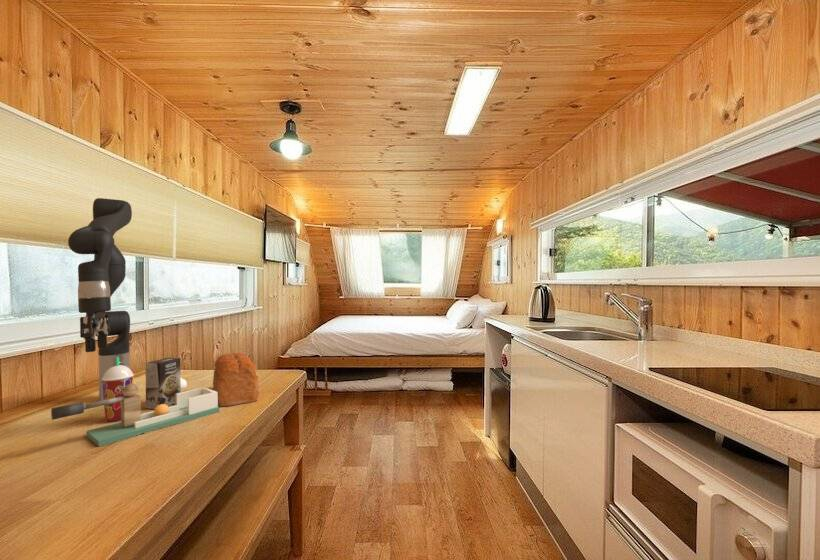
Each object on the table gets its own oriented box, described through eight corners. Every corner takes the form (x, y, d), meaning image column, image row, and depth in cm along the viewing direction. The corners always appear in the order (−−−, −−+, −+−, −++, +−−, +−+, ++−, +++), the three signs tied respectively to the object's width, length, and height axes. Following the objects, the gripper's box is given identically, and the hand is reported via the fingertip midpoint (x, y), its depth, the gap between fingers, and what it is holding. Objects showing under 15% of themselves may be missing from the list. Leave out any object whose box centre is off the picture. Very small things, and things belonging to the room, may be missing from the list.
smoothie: (141, 415, 123) (140, 355, 123) (113, 424, 115) (112, 360, 115) (123, 412, 125) (122, 353, 125) (95, 421, 118) (94, 358, 118)
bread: (249, 384, 159) (248, 349, 158) (260, 401, 136) (260, 360, 136) (212, 389, 151) (211, 353, 151) (217, 408, 128) (217, 365, 128)
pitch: (86, 436, 107) (86, 413, 107) (202, 404, 132) (202, 386, 132) (98, 446, 100) (98, 422, 100) (219, 411, 125) (219, 392, 125)
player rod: (51, 442, 98) (50, 398, 98) (137, 420, 113) (136, 381, 113) (54, 446, 96) (53, 400, 96) (141, 422, 111) (140, 383, 111)
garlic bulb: (174, 387, 157) (172, 368, 157) (190, 385, 158) (188, 366, 158) (166, 392, 151) (164, 372, 151) (182, 389, 151) (180, 370, 151)
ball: (151, 417, 116) (151, 405, 116) (166, 413, 120) (166, 401, 120) (156, 420, 114) (156, 407, 114) (171, 416, 117) (171, 403, 117)
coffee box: (160, 409, 128) (159, 363, 128) (145, 408, 129) (144, 362, 129) (181, 401, 137) (181, 357, 137) (167, 400, 138) (166, 357, 138)
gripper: (89, 297, 118) (91, 348, 118) (67, 297, 105) (69, 354, 105) (118, 295, 121) (120, 345, 121) (100, 295, 108) (102, 351, 107)
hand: (96, 349), depth 113 cm, fingers open, 8 cm apart
